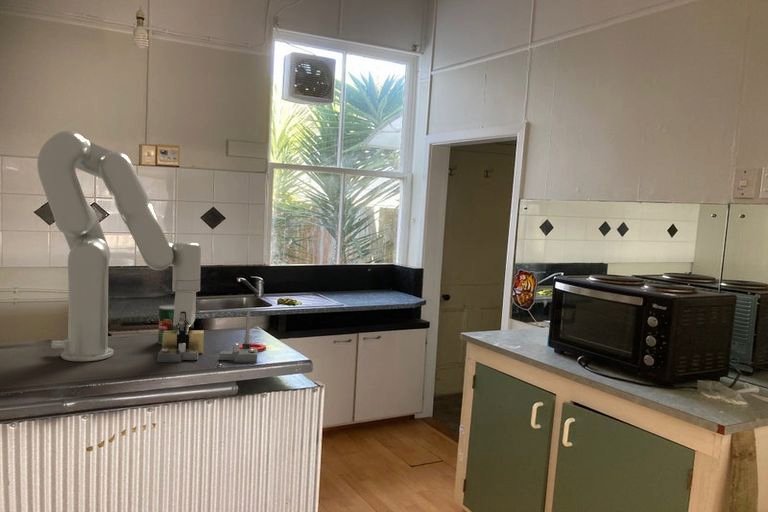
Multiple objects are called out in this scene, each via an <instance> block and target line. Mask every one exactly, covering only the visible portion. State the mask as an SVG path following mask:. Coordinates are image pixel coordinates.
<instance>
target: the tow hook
mask: <svg viewBox="0 0 768 512" xmlns="http://www.w3.org/2000/svg"><path fill="white" fill-rule="evenodd" d="M246 313H247V315H246V317H245V333H244V340H243V343H241V344H240V343H239V344H240V348H239V349H258V350H257V353H259V352H261V351H265V350H266V349H267V346H266V345H265V344H262V343H261V344H260V343H256V342H255V343H252V342H251V341H250V340H251V335H250V330H251V329H250V328H251V308H247V311H246ZM250 342H251V343H250Z"/></svg>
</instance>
